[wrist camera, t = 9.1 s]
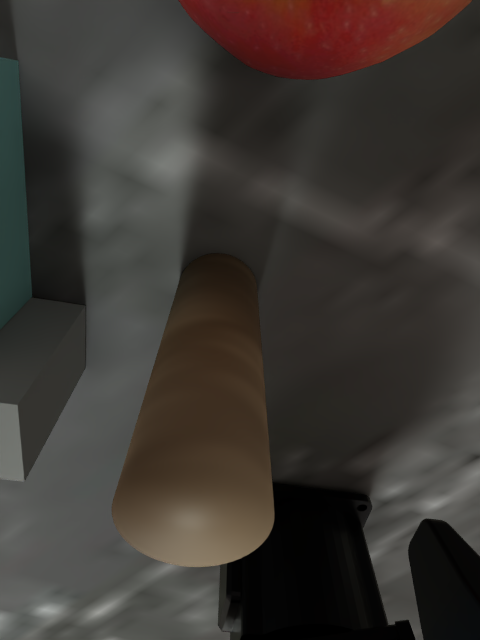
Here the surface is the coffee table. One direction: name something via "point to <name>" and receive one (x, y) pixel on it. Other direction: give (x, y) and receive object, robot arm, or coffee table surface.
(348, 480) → the coffee table surface
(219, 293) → the dowel
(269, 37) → the apple
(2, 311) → the holed block
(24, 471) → the wall
